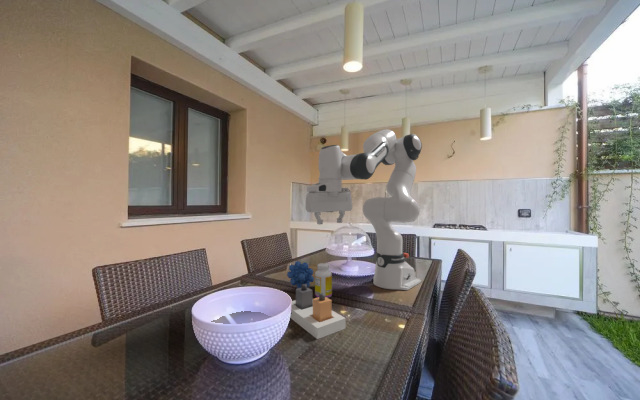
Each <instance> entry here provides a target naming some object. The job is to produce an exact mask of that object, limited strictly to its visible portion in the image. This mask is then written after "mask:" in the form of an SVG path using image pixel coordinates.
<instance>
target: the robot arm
mask: <svg viewBox="0 0 640 400" xmlns="http://www.w3.org/2000/svg"><path fill="white" fill-rule="evenodd" d="M422 148H423V144H422V141H421V139H420V137H419V136H418V135H417V134H415V133H411V134H410V133H409V134H406V135H404V136H402V137H399V138H397V136H396V133H395V132H394V131H393V130H392V129H389V128H388V129H387V128H386V129H380V130H378V131H377V132H375V133H373V134H371V135H370V136H368V137H367V138H366V139H365V141H364V142H363V145H362V149H363V152H360V153H357V154H349V155H347V154H345V153H344V152H343V151H342V150H341V146H340V145H338V144H330V145H326V146H323V147H321V148H320V150H319V153H318V171H319V177H318V182H317V183H314V184H311V185H308V186H307V187H306V192H308V193H307V194H306V196H305V210H306V212H307V213H313V214H314V217H315V219H316V223H317V225H323V224H324V219H322V218H321V213H328V212H330V213H331V212H333V213H334V212H338V214H339V215H338V217H337V218H336V223H337V224H341V223H343V218H344V217H345V214H346V212H351V211H352V209H353V201H352V191H351V190H350V189H349V188H348V187H342V185H343V183H342V182H343V181H347V180H349V181H350V180H369V179H370V178H372V176H373V175H374V173H375V171H376V170H377V168H378V167H379V166H380V164H381V163H382V164H383V165H385V166H392V165H394V169H393V170H392V172H391V174H390V176H389V179H388V181H387V182H386V183H387V184H386V192H387V194H388V195H389V196H390V197H388V196H387V197H385V196H384V197H372V198H368V199H366V200H365V201H364V202H363V205H362V213H363V215H364V217H365V218H366V220H368V221H369V223H370V224H371V225H372V227H373V230H374V233H375V236H376V253H375V261H376V262H375V266H374V267H375V268H374V276H373V277H372V279H373V283H372V284H373V285H374V286H376V287H379V288H382V289H385V290H386V289H387V290H399V291H400V290H401V291H409V290H410V289H411V288H413V287H415V286H417V285H419V284H420V283H421V279H420V278H418V277H416V271H415V268H414V267H413V266H412V265H410V264H409V263H408V262H407V261H406V259H409V256H410V255H409V253H406V252H403V245H404V244H403V242H404V241H403V240H404V239H403V236H402V234H401V233H400V232H399V231H397V230H396V229H395V228H394V227H393V225H392V223H400V224H404V223H412V222H415V221H416V220H418V218H419V216H420V212H421V210H420V209H421V207H420V205H419V203H418V202H417V200H415V199H414V198H413V197H412V196H411V191H412V187H413V184H414V181H415V179H416V174H417V166H416V163H415V162H414V161H417V160H418V158H419V156H420V154H421V151H422Z"/></svg>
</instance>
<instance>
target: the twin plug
mask: <svg viewBox="0 0 640 400" xmlns="http://www.w3.org/2000/svg"><path fill="white" fill-rule="evenodd" d="M313 296H314V295H313V289H311V288H310V287H307V285H306V284H302V285H301V288H296V289H295V300H296V306H297V307H298V308H299V309H301V310H302V309H306V308H309V307H313V299H314V297H313Z"/></svg>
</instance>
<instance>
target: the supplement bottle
mask: <svg viewBox="0 0 640 400" xmlns="http://www.w3.org/2000/svg"><path fill="white" fill-rule="evenodd" d="M316 268H317V270H316V271H315V272H314V296H315V297H316V298H318V297H319V294H321V293H324V294H325V297H327V298H328V299H329V298H330V297H332V295H333V276H332V275H333V274H332V273H333V272H332V271H331V270H330V264H329V263H327V262H326V263H325V262H320V263H318V264H317V265H316Z"/></svg>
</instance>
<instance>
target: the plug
mask: <svg viewBox="0 0 640 400" xmlns="http://www.w3.org/2000/svg"><path fill="white" fill-rule="evenodd" d="M332 302H333V300H332V299H330V298H329V297H328V298H327V297H325V294H324V293H321V294H319V297H315V298H314V297H313V318H314V319H315V320H317V321H318V322H322V321H325V320H328V319H331V318H332V311H333V309H332V307H333V306H332Z"/></svg>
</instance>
